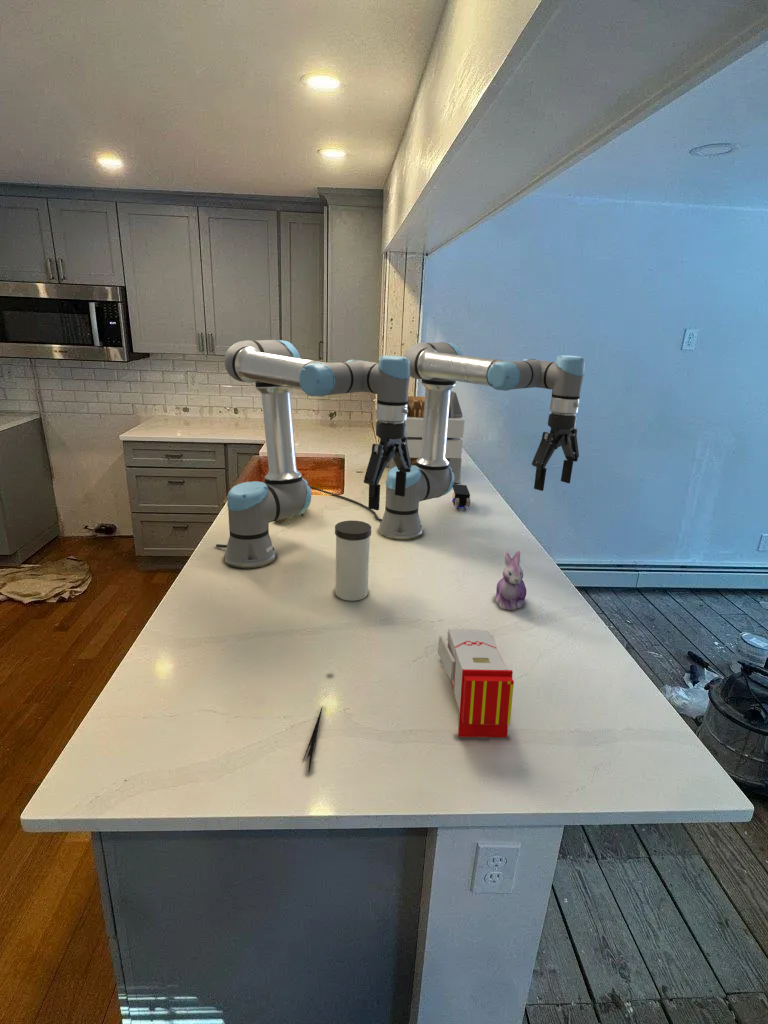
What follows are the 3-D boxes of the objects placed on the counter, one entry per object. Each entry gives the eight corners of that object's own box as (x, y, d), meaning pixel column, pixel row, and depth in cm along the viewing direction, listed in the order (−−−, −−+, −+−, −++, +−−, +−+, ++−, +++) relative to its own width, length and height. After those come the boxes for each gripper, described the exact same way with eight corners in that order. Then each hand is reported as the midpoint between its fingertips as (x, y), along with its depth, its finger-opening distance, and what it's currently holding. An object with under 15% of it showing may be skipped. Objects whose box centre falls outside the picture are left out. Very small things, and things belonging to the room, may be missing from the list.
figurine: (508, 614, 149) (515, 562, 144) (485, 597, 158) (490, 547, 153) (536, 607, 153) (543, 557, 148) (511, 591, 162) (518, 542, 157)
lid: (370, 527, 156) (371, 520, 156) (371, 540, 147) (371, 534, 146) (335, 526, 156) (335, 520, 155) (334, 539, 147) (334, 533, 146)
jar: (367, 585, 162) (369, 522, 155) (367, 600, 153) (370, 535, 147) (336, 584, 161) (337, 522, 155) (334, 600, 153) (335, 534, 146)
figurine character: (470, 515, 225) (465, 499, 238) (472, 498, 221) (467, 483, 235) (453, 515, 224) (449, 499, 238) (455, 497, 221) (451, 482, 234)
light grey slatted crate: (382, 463, 289) (386, 382, 275) (445, 464, 293) (451, 384, 279) (390, 482, 257) (394, 392, 243) (460, 483, 261) (468, 394, 247)
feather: (331, 679, 122) (336, 673, 122) (307, 777, 96) (313, 769, 95) (324, 675, 122) (329, 669, 121) (298, 772, 95) (304, 764, 95)
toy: (488, 613, 130) (523, 677, 101) (484, 667, 133) (517, 744, 104) (435, 612, 130) (455, 676, 101) (432, 666, 133) (451, 743, 103)
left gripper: (378, 431, 128) (374, 518, 135) (427, 416, 149) (421, 493, 156) (350, 426, 132) (348, 512, 139) (402, 412, 152) (398, 487, 159)
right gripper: (548, 419, 148) (537, 496, 155) (598, 411, 163) (586, 482, 171) (525, 414, 153) (515, 489, 160) (575, 407, 169) (564, 476, 176)
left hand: (387, 502), depth 147 cm, fingers open, 13 cm apart
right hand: (552, 485), depth 166 cm, fingers open, 13 cm apart
